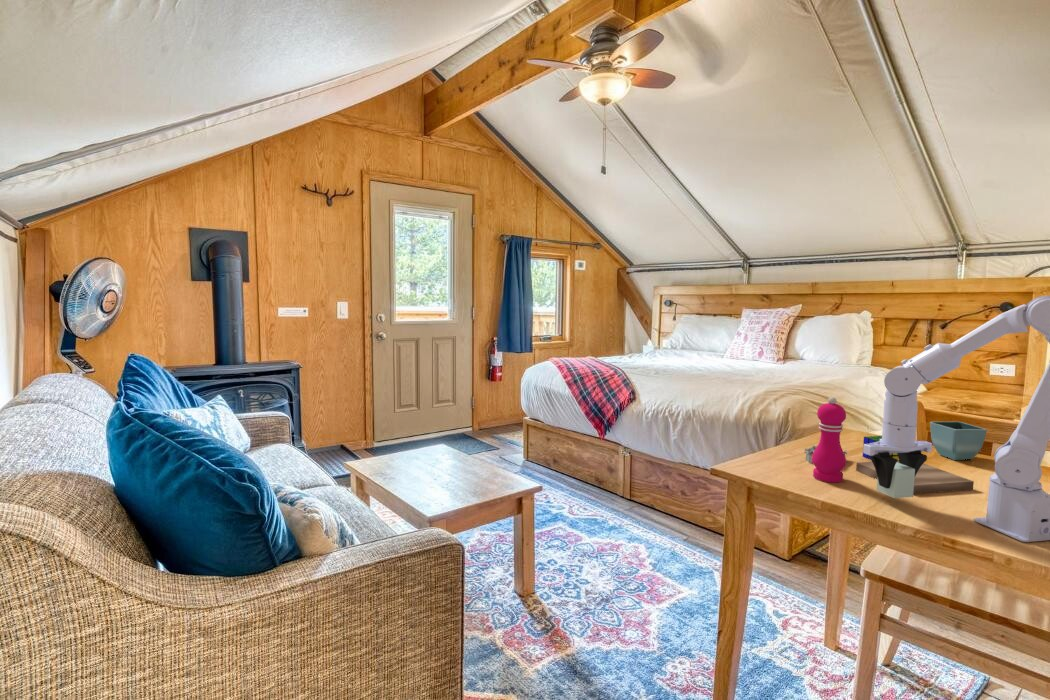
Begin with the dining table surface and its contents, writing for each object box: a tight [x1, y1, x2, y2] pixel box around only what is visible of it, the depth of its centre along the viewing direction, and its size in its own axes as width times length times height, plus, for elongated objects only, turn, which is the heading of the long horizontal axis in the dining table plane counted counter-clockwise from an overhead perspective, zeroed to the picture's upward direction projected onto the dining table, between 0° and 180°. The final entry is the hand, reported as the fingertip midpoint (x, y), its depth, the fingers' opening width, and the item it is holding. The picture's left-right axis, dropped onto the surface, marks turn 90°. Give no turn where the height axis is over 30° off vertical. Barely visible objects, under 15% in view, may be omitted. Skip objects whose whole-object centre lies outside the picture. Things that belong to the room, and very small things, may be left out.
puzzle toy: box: [862, 435, 899, 461], centre depth 142 cm, size 6×6×6 cm
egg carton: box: [804, 444, 848, 464], centre depth 141 cm, size 11×8×4 cm
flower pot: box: [929, 421, 988, 461], centre depth 143 cm, size 9×9×9 cm
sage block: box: [876, 462, 915, 499], centre depth 112 cm, size 4×4×6 cm
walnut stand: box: [855, 459, 975, 495], centre depth 127 cm, size 16×16×2 cm
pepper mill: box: [812, 396, 847, 484], centre depth 127 cm, size 7×7×20 cm
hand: (895, 485), depth 112 cm, fingers closed on sage block, 4 cm apart
